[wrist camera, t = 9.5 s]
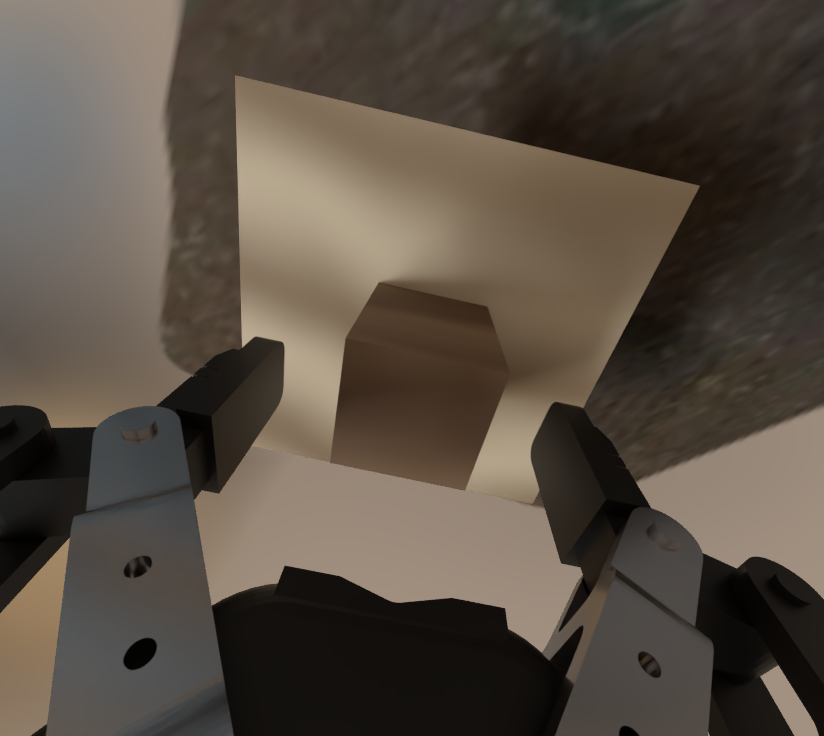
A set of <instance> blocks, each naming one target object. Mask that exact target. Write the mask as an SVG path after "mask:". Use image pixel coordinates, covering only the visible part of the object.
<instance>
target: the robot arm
mask: <svg viewBox="0 0 824 736" xmlns="http://www.w3.org/2000/svg"><path fill="white" fill-rule="evenodd" d="M284 357H285V347H284V343H283V342H281V341H276V340H272V339H267V338H262V337H258V336H255V337H254V338H252V339H251V340H250V341H249V342H248V343H247V344H246V345H245V346H244V347H243V348H241V349H240V350H236V349H231V350H229V351H226V352H224V353H221V354H219V355H216V356H215V357H213V358H212V359H211V360H210V361H209V362H207V363H206V364H205V365H204V367H203V368H200V369H199V370H198V371H197V372H196V373H195V374H194V375H193V377H190V378H189V379H187V380H186V381H185V382H184V383H183V384H182V385H180V386H179V387H178V388H177V389H176V390H174V391H173V392H172V393H171V394H170V395H169V396H167V397H166V398H165V399H164V400H163V401H161V402H160V403H159V404H158V405H157V406H143V407H135V408H130V409H127V410H124V411H121V412H118V413H116V414H114V415H112V416H110V417H108V418H107V419H105V420H104V421H103V422H101V423H100V424H99V425H98V426H97V427H83V428H51V426H50V423H49V420H48V418H47V415H46V414H45V413H44V412H43V411H42V410H40V409H38V408H35V407H31V406H23V405H22V406H21V405H19V406H18V405H13V406H2V407H0V613H1V612H2V611H3V609H4V608H5V607H6V606H7V605H8V604H9V603H10V602H11V601H12V599H14V597H15V596H16V595H17V594H18V593H19V592H20V591H21V590H22V589H23V588H24V587H25V585H26V584H27V583H28V582H29V581H30V580H31V579H32V578H33V577H34V576H35V574H36V573H37V572H38V571H39V570H40V569H41V568H42V567H43V566H44V565H45V564H46V563H47V561H48V560H49V559H50V558H51V557H52V556H53V555H54V554H55V553H56V552H57V551H58V549H59V548H60V547H61V546H62V545H63V544H64V543H65V542H66V541H67V540H68V539H69V538H70V541H69V550H68V558H67V566H66V574H65V582H64V591H63V599H62V607H61V616H60V624H59V632H58V640H57V648H56V656H55V665H54V673H53V681H52V689H51V698H50V706H49V714H48V722H47V725H45V726H44V727H42V728H41V729H39V730H38V731H37V732H35V733H34V734H32V736H708V732H709V735H710V736H794V735H793V733H792V731H791V729H790V728H789V726H788V724H787V723H786V721H785V719H784V717H783V715H782V714H781V712H780V710H779V709H778V707H777V705H776V703H775V702H774V700H773V698H772V696H771V695H770V693H769V691H768V689H767V688H766V686H765V684H764V683H763V681H762V679H761V677H760V676H761V675H763V674H764V673H766V672H768V671H770V670H771V669H773V668H774V667H776V666H778V665H779V667H780V668H781V670H782V671H783V673H784V675H785V676H786V678H787V679H788V681H789V683H790V684H791V686H792V687H793V689H794V691H795V692H796V694H797V695H798V697H799V699H800V700H801V702H802V703H803V705H804V707H805V708H806V710H807V711H808V713H809V715H810V716H811V718H812V720H813V721H814V723H815V725H816V728H817V731H818V734H819V736H824V599H823V598H822V597H821V596H820V595H819V594H818V593H817V592H816V591H815V590H814V589H813V588H812V587H811V586H810V585H809V584H808V583H806V582H805V581H804V580H803V579H801V578H800V577H799V576H797V575H796V574H795V573H793V572H792V571H790V570H789V569H787V568H785V567H784V566H782V565H780V564H778V563H776V562H774V561H771V560H768V559H766V558H762V557H751V558H749V559H748V560H746V561H745V562H744V563H743V564H742V565H741V566H740V567H738V568H737V569H736V568H734V567H732V566H730V565H728V564H725V563H723V562H721V561H719V560H716V559H714V558H712V557H710V556H708V555H706V554H703V553H702V550H701V548H700V546H699V544H698V543H697V541H696V540H695V539H694V537H693V536H692V535H691V534H690V533H689V532H688V531H687V530H686V529H685V528H684V527H683V526H682V525H681V524H679V523H678V522H677V521H676V520H674V519H673V518H671V517H669V516H668V515H666V514H664V513H662V512H660V511H657V510H654V509H651V507H650V505H649V504H648V502H647V500H646V499H645V497H644V495H643V494H642V492H641V491H640V489H639V487H638V485H637V484H636V482H635V480H634V479H633V477H632V475H631V474H630V472H629V470H628V469H626V465H625V464H624V462H623V460H622V459H621V457H619V454H618V452H617V450H616V449H615V447H614V445H613V444H612V442H611V441H610V440H609V439H608V438H607V437H606V436H605V435H604V434H603V433H602V432H601V431H600V430H599V429H598V428H597V427H594V426H593V424H592V423H591V421H590V419H589V417H588V416H587V414H586V412H585V410H584V409H583V408H582V407H579V406H574V405H570V404H565V403H560V402H554V403H553V404H552V405H551V406H550V408H549V410H548V412H547V414H546V416H545V418H544V420H543V422H542V424H541V426H540V428H539V430H538V432H537V434H536V436H535V438H534V440H533V443H532V446H531V463H532V466H533V469H534V473H535V476H536V480H537V483H538V486H539V490H540V493H541V497H542V500H543V503H544V507H545V510H546V514H547V517H548V520H549V524H550V527H551V531H552V534H553V537H554V541H555V544H556V548H557V551H558V554H559V558H560V561H561V563H562V564H567V565H572V566H577V567H581V570H582V573H583V575H582V577H581V578H580V579H579V580H578V582H577V584H576V586H575V588H574V590H573V592H572V594H571V596H570V598H569V601H568V603H567V605H566V607H565V609H564V611H563V613H562V615H561V618H560V620H559V622H558V624H557V626H556V628H555V630H554V632H553V634H552V636H551V638H550V640H549V642H548V644H547V646H546V647H545V649H544V651H543V652H542V653H541V652H540V651H539V650H538V649H537V648H535V647H534V646H533V645H531V644H530V643H529V642H528V641H527V640H525V639H524V638H522V637H521V636H519V635H517V634H516V633H514V632H512V631H511V630H509V629H508V626H507V620H506V612H505V608H501V607H495V606H490V605H485V604H480V603H475V602H470V601H465V600H459V599H454V598H447V599H436V600H426V601H415V602H404V603H395V602H391V601H388V600H386V599H384V598H382V597H380V596H378V595H376V594H374V593H372V592H370V591H368V590H366V589H364V588H362V587H360V586H358V585H356V584H354V583H352V582H350V581H348V580H346V579H344V578H342V577H340V576H335V575H330V574H325V573H320V572H315V571H310V570H305V569H300V568H294V567H289V566H285V567H284V569H283V572H282V574H281V577H280V579H279V582H278V584H269V585H264V586H259V587H254V588H251V589H248V590H245V591H242V592H239V593H236V594H234V595H232V596H230V597H228V598H225V599H223V600H221V601H220V602H218V603H216V604H214V605H211V599H210V594H209V587H208V582H207V575H206V569H205V563H204V558H203V552H202V546H201V539H200V533H199V527H198V522H197V516H196V509H195V503H194V500H195V498H196V497H197V496H198V494H199V493H200V492H201V490H204V491H209V492H214V493H220V491H221V490H222V488H223V487H224V485H225V484H226V482H227V481H228V480H229V478H230V477H231V475H232V474H233V472H234V471H235V469H236V468H237V466H238V465H239V463H240V462H241V460H242V459H243V457H244V456H245V455H246V453H247V451H248V450H249V449H250V447H251V446H252V444H253V443H254V441H255V440H256V438H257V437H258V435H259V434H260V432H261V431H262V429H263V428H264V426H265V425H266V424H267V422H268V421H269V419H270V418H271V416H272V415H273V413H274V412H275V410H276V409H277V407H278V405H279V403H280V401H281V398H282V394H283V388H284Z"/></svg>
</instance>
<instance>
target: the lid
mask: <svg viewBox="0 0 824 736" xmlns="http://www.w3.org/2000/svg"><path fill="white" fill-rule="evenodd" d="M235 91H236V129H237V166H238V204H239V242H240V280H241V318H242V348H243V347H244V346H245V345H246V344H247V343H248V342H249V341H250V340H251V339H252V338H254V337H255V336H258V337H262V338H267V339H272V340H276V341H281V342H283V343H284V347H285V357H284V388H283V394H282V398H281V401H280V403H279V405H278V407H277V409H276V410H275V412H274V413H273V415H272V416H271V418H270V419H269V421H268V422H267V424H266V425H265V426H264V428H263V429H262V431H261V432H260V434H259V435H258V437H257V438H256V440H255V441H254V443H253V444H252V446H255V447H260V448H265V449H270V450H274V451H279V452H284V453H289V454H293V455H298V456H304V457H308V458H313V459H318V460H323V461H327V462H330V463H334V464H339V465H344V466H349V467H353V468H358V469H363V470H368V471H373V472H378V473H382V474H387V475H392V476H397V477H402V478H407V479H411V480H416V481H421V482H426V483H431V484H436V485H440V486H445V487H451V488H455V489H460V490H468V491H472V492H477V493H483V494H487V495H492V496H497V497H501V498H506V499H511V500H516V501H521V502H526V503H530V504H532V503H533V502H534V500H535V498H536V496H537V494H538V492H539V486H538V483H537V480H536V476H535V473H534V469H533V466H532V463H531V446H532V443H533V440H534V438H535V436H536V434H537V432H538V430H539V428H540V426H541V424H542V422H543V420H544V418H545V416H546V414H547V412H548V410H549V408H550V406H551V405H552V404H553V403H554V402H560V403H565V404H570V405H574V406H579V407H582V408H583V407H584V405H585V403H586V401H587V399H588V397H589V395H590V394H591V392H592V390H593V388H594V386H595V384H596V382H597V380H598V378H599V376H600V375H601V373H602V371H603V369H604V367H605V365H606V363H607V361H608V359H609V358H610V356H611V354H612V352H613V350H614V348H615V346H616V344H617V342H618V340H619V339H620V337H621V335H622V333H623V331H624V329H625V327H626V325H627V323H628V322H629V320H630V318H631V316H632V314H633V312H634V310H635V308H636V306H637V304H638V303H639V301H640V299H641V297H642V295H643V293H644V291H645V289H646V287H647V286H648V284H649V282H650V280H651V278H652V276H653V274H654V272H655V270H656V268H657V267H658V265H659V263H660V261H661V259H662V257H663V255H664V253H665V251H666V250H667V248H668V246H669V244H670V242H671V240H672V238H673V236H674V234H675V232H676V231H677V229H678V227H679V225H680V223H681V221H682V219H683V217H684V215H685V214H686V212H687V210H688V208H689V206H690V204H691V202H692V200H693V198H694V196H695V195H696V193H697V191H698V189H699V187H700V186H699V185H694V184H690V183H686V182H682V181H678V180H673V179H669V178H665V177H661V176H657V175H652V174H648V173H644V172H640V171H635V170H631V169H627V168H623V167H619V166H614V165H610V164H606V163H602V162H598V161H593V160H589V159H585V158H581V157H577V156H572V155H568V154H564V153H560V152H555V151H551V150H547V149H543V148H539V147H534V146H530V145H526V144H522V143H518V142H513V141H509V140H505V139H501V138H496V137H492V136H488V135H484V134H480V133H475V132H471V131H467V130H463V129H459V128H454V127H450V126H446V125H442V124H438V123H433V122H429V121H425V120H421V119H416V118H412V117H408V116H404V115H400V114H395V113H391V112H387V111H383V110H379V109H374V108H370V107H366V106H362V105H357V104H353V103H349V102H345V101H341V100H336V99H332V98H328V97H324V96H320V95H315V94H311V93H307V92H303V91H299V90H294V89H290V88H286V87H282V86H277V85H273V84H269V83H265V82H261V81H256V80H252V79H248V78H244V77H240V76H235Z"/></svg>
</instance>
